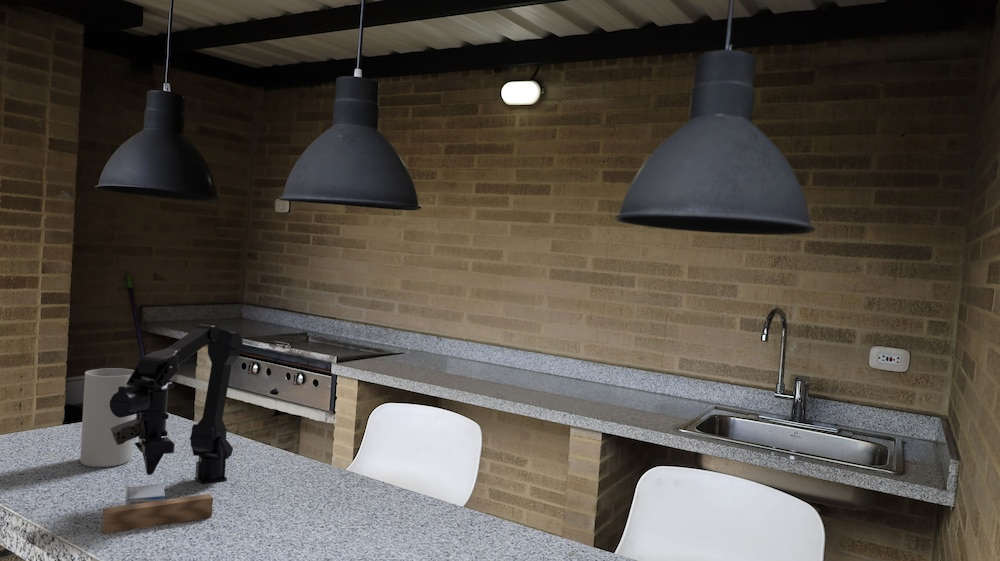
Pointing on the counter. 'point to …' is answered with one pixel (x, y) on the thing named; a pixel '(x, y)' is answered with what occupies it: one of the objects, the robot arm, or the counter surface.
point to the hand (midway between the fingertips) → (149, 474)
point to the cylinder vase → (103, 419)
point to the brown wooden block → (156, 513)
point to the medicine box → (144, 494)
